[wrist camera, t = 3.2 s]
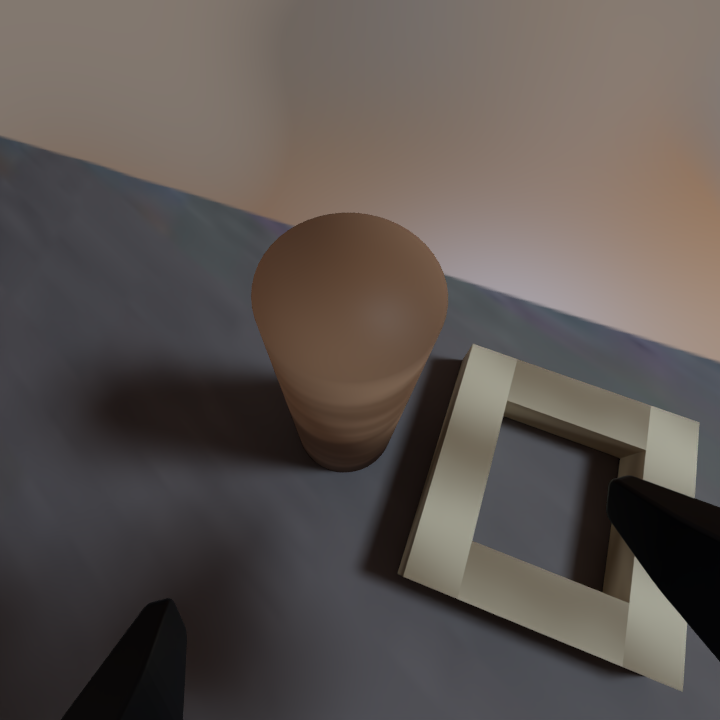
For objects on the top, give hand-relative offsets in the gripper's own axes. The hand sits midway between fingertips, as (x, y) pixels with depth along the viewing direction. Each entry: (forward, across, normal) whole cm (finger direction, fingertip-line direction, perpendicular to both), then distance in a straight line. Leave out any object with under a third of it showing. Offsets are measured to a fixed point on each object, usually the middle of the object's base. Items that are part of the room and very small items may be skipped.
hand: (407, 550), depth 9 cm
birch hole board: (+8, -8, +8) cm, 15 cm away
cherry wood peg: (+12, 0, +4) cm, 13 cm away
